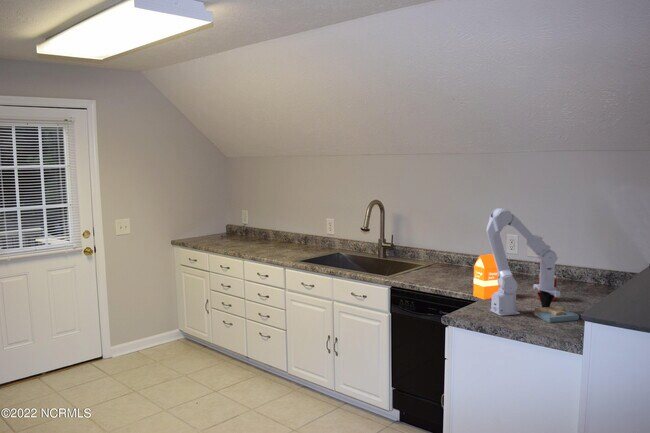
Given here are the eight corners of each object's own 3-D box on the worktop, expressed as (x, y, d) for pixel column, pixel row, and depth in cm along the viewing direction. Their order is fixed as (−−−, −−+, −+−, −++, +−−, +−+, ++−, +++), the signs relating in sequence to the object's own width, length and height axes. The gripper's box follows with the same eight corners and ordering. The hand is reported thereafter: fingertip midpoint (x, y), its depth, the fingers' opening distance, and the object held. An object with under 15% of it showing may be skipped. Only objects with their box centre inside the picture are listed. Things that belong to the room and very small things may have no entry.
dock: (549, 322, 210) (549, 317, 210) (538, 317, 217) (538, 312, 217) (578, 319, 214) (578, 314, 214) (566, 314, 221) (566, 310, 220)
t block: (547, 320, 213) (547, 313, 213) (534, 315, 221) (534, 308, 220) (572, 318, 216) (573, 311, 216) (559, 312, 224) (559, 305, 223)
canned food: (550, 297, 250) (551, 273, 248) (559, 301, 242) (559, 277, 240) (534, 297, 249) (535, 274, 248) (542, 301, 241) (543, 277, 240)
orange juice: (473, 295, 253) (474, 254, 251) (488, 293, 256) (489, 252, 254) (483, 299, 246) (484, 256, 244) (499, 297, 249) (500, 255, 247)
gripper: (567, 280, 216) (565, 313, 217) (544, 273, 230) (542, 304, 231) (552, 281, 214) (550, 314, 215) (529, 274, 228) (528, 305, 229)
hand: (545, 309), depth 223 cm, fingers closed
